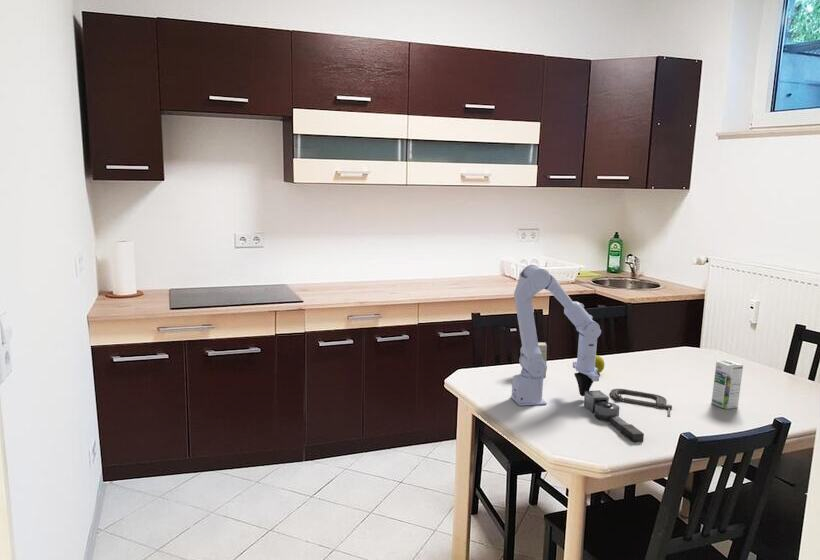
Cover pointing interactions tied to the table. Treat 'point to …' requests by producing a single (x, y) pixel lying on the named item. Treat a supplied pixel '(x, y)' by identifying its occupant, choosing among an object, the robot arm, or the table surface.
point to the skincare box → (543, 352)
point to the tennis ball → (599, 364)
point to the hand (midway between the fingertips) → (583, 395)
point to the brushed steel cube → (593, 399)
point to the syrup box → (727, 384)
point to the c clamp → (659, 400)
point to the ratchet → (616, 420)
